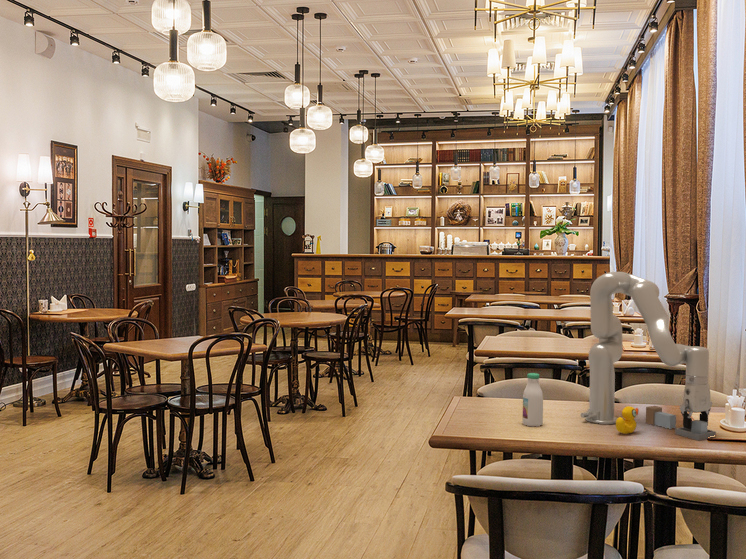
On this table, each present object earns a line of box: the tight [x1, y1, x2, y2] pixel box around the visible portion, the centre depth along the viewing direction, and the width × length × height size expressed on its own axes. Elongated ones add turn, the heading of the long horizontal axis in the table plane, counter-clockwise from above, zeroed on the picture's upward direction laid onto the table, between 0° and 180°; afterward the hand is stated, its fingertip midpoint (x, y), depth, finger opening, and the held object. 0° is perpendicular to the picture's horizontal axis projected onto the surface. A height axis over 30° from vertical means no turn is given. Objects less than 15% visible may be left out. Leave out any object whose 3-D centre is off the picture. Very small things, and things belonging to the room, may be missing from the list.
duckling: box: [615, 405, 639, 435], centre depth 255 cm, size 11×5×10 cm, turn 122°
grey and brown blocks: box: [645, 405, 677, 430], centre depth 267 cm, size 5×10×6 cm, turn 29°
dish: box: [674, 426, 717, 441], centre depth 253 cm, size 10×10×2 cm
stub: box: [691, 419, 709, 434], centre depth 251 cm, size 4×4×5 cm
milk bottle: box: [522, 372, 544, 427], centre depth 267 cm, size 8×8×20 cm
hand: (695, 426), depth 252 cm, fingers open, 8 cm apart
